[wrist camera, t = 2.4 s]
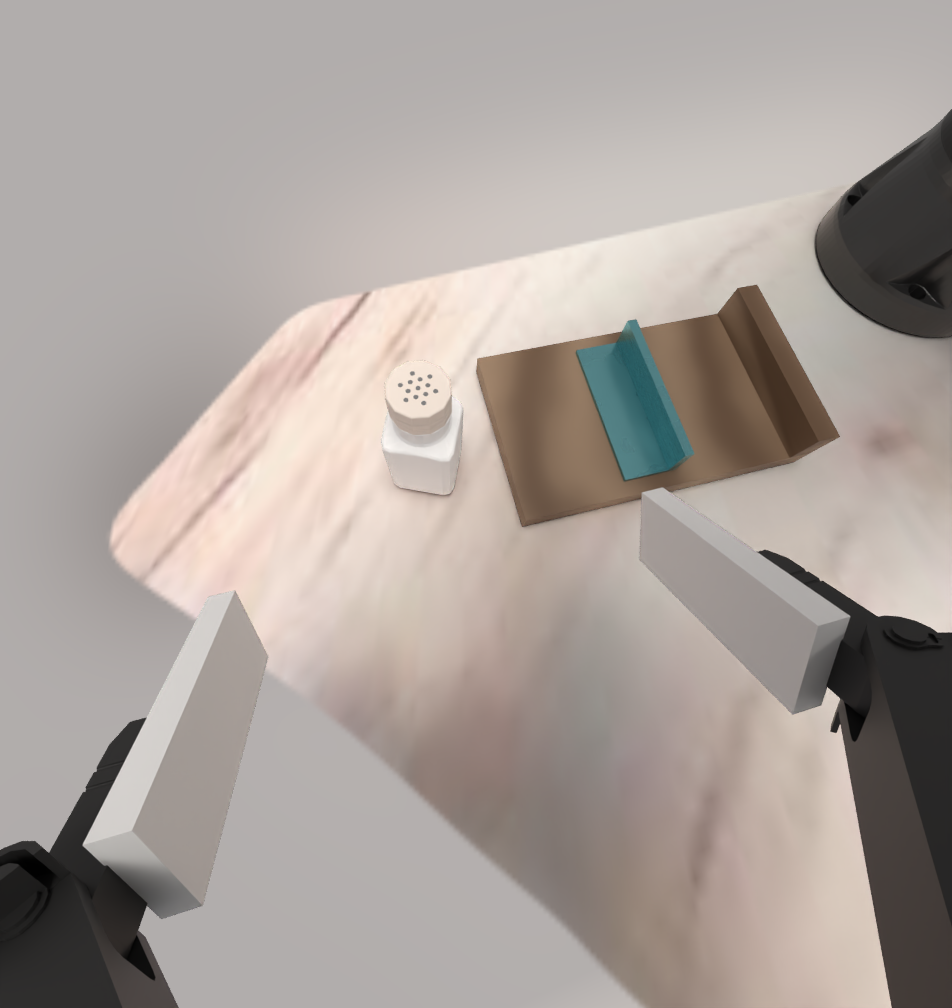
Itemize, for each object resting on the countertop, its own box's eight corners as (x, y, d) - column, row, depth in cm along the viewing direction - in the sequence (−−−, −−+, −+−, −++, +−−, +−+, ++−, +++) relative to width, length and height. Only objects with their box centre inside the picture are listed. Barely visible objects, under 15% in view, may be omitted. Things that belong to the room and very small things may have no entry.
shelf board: (723, 324, 35) (757, 284, 31) (793, 462, 31) (840, 436, 28) (476, 371, 32) (479, 334, 29) (522, 526, 29) (532, 508, 25)
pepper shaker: (462, 445, 31) (467, 359, 22) (452, 499, 29) (452, 433, 20) (405, 435, 31) (385, 345, 22) (392, 489, 29) (365, 418, 20)
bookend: (622, 343, 32) (636, 319, 30) (675, 469, 29) (694, 453, 27) (575, 352, 32) (585, 328, 29) (623, 481, 29) (639, 466, 26)
